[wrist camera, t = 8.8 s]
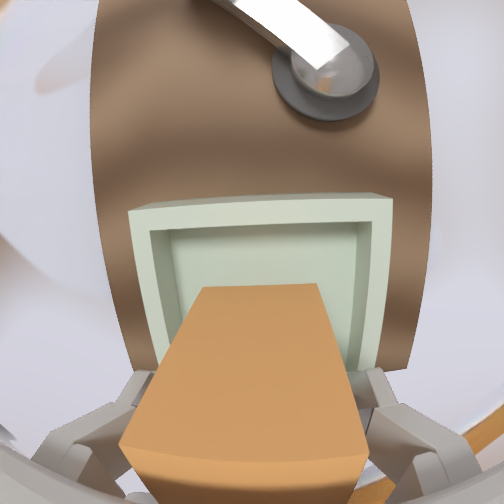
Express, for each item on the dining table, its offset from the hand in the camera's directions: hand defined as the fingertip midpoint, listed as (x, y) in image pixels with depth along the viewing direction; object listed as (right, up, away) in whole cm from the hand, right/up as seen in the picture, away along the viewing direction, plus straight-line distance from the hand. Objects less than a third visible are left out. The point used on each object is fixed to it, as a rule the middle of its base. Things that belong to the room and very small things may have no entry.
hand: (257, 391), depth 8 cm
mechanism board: (0, +8, +6) cm, 10 cm away
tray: (0, +2, +6) cm, 6 cm away
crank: (0, +14, +1) cm, 14 cm away
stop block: (0, +1, +3) cm, 3 cm away
